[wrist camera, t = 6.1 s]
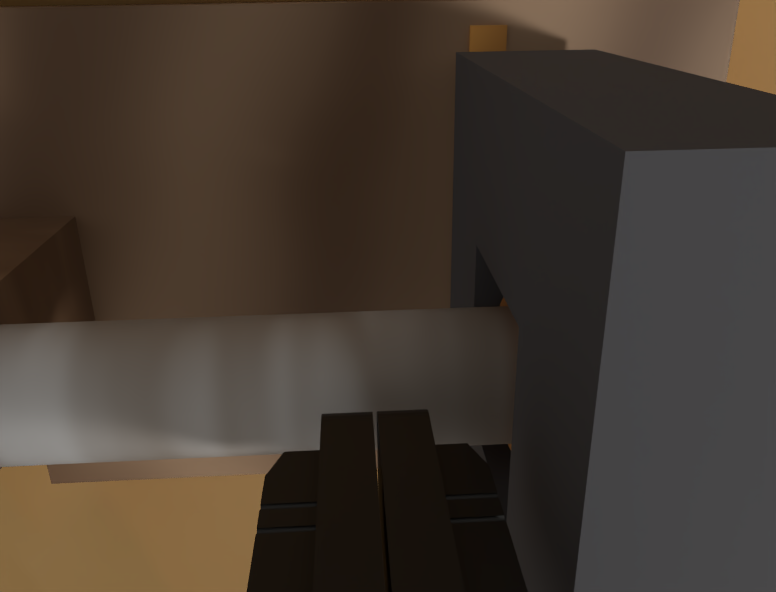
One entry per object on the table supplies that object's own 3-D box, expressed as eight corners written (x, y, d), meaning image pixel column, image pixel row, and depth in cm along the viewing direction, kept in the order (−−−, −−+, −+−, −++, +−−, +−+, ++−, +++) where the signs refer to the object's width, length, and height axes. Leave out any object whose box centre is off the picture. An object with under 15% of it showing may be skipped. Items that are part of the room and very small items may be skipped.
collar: (595, 48, 15) (963, 142, 6) (558, 440, 19) (751, 849, 10) (455, 52, 15) (625, 151, 6) (447, 446, 19) (541, 864, 10)
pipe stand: (708, -5, 17) (1010, 2, 9) (643, 425, 22) (808, 666, 14) (-30, 7, 16) (-369, 25, 8) (70, 450, 21) (-88, 720, 13)
